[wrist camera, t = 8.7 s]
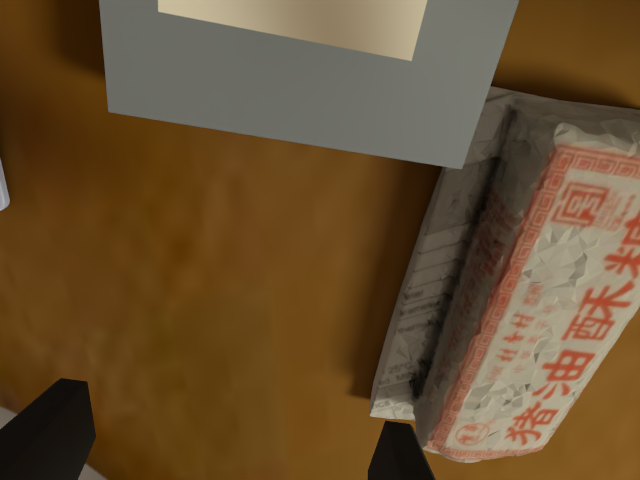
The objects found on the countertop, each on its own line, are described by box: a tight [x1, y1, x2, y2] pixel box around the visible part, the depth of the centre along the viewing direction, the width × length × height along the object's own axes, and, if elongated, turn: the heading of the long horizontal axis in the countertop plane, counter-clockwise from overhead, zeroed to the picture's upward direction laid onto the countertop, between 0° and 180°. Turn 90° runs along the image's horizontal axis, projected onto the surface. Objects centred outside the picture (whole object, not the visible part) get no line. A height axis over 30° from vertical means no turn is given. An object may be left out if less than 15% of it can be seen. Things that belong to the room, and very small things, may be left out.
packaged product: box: [369, 86, 640, 463], centre depth 19 cm, size 18×5×10 cm
